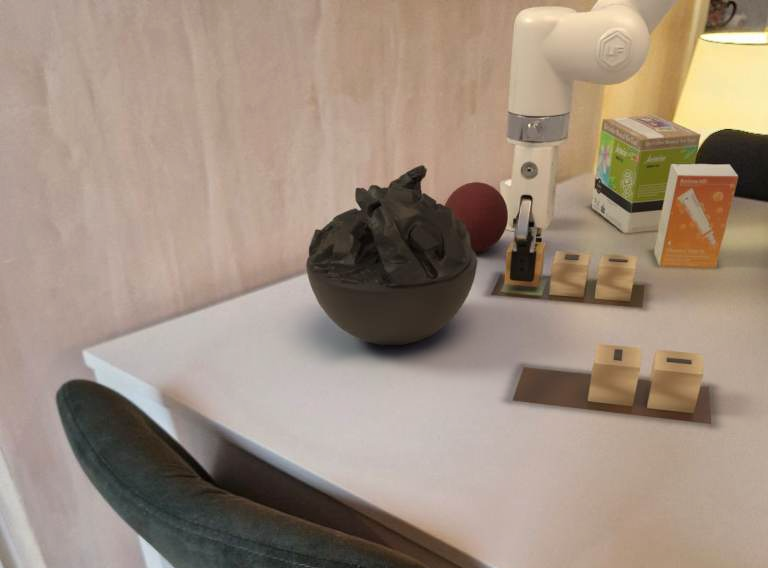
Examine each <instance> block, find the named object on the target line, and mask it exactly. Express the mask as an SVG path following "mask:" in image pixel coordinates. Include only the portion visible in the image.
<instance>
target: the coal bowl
mask: <svg viewBox="0 0 768 568" xmlns="http://www.w3.org/2000/svg"><path fill="white" fill-rule="evenodd" d="M427 171H428V169H427V168H426V167H425V165H424V164H420V165H418V166H416V167H413V168H412V169H410V170H408V171H406V172H404V174H401V175H400V176H399V177H398V178H396V179H394V180H392V181H391V182H390V183H389V185H388V186H387V187H385V186H384V187H381V186H379V185H378V184H377V185H376V184H371V185H370V186H369V187H368V189H366V188H364V187H356V188H355V192H354V198H355V199H354V200H355V202H356V204H357V206H358V207H359V208H360V209H358V208H355V207H354V208H351V209H349V210H346V211H344V212H341V213H339V214H337V215H336V216H334V217H333V218H332V220H331V221H329V223H327V224H326V225H325V226H324V227H322V228H321V229H318V228H316V229H315V230H314V231H313V236H312V237H311V241H310V244H309V246H308V257H307V260H306V263H305V264H306V265H305V268H306V274H307V278H308V282H309V285H310V288H311V290H312V292H313V294H314V296H315V298H316V300H317V302H318V305H320V307H321V309H322V311H324V313H325V314H326V315H327V316H328V318H329V319H331V321H332V322H333V323H334V324H336V325H337V326H338V327H339V328H340V329H342V330H343V331H345V332H346V333H347V334H349V335H350V336H353V337H355V338H357V339H358V340H361V341H363V342H364V341H365V342H367V343H370V344H373V345H374V344H375V345H379V346H380V345H381V346H401V345H407V344H408V345H409V344H412V343H416V342H418V341H421V340H424V339H426V338H428V337H430V336H432V335H434V334H435V333H437V332H438V331H440V330H441V329H443V327H445V326H447V324H448V323H449V322H451V320H453V318H454V317H455V316H456V315H457V313H458V312H459V311H460V310H461V308H462V306H463V305H464V304H465V302H466V300H467V299H468V297H469V294H470V292H471V289H472V287H473V284H474V282H475V277H476V273H477V267H478V258H477V254H476V252H474V251H473V250H472V249H471V242H470V233H469V231H468V230H467V229H466V225H465V224H464V223H463V222H462V221H460V220H458V219H455V218H454V217H453V216H454V215H453V210H452V208H449V207H446V206H445V204H442V203H437V200H436V199H434V198H433V197H432V196H429V195H428V194H427V193H425V192H423V191H422V181H423V179H424V178H426V176H427Z"/></svg>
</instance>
